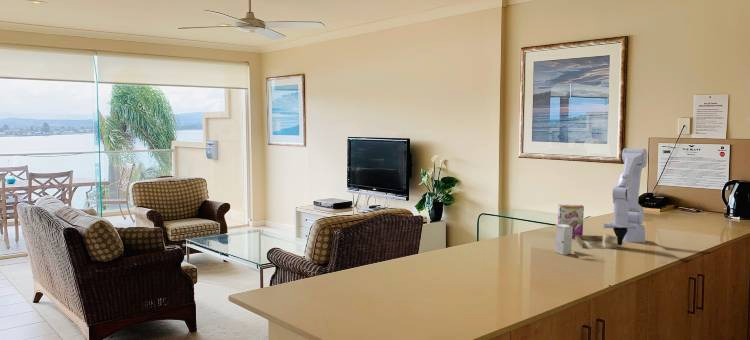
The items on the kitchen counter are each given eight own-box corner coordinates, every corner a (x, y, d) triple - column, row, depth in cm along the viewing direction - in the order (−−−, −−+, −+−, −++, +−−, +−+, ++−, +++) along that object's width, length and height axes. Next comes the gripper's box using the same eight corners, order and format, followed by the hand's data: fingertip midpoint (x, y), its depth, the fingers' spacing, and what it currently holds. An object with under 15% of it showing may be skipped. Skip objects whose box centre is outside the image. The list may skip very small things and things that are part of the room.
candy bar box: (559, 239, 283) (560, 205, 281) (556, 237, 288) (557, 203, 286) (583, 239, 282) (584, 205, 280) (580, 237, 287) (581, 204, 285)
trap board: (615, 243, 274) (615, 236, 273) (626, 252, 254) (626, 245, 254) (574, 241, 277) (575, 235, 276) (582, 250, 257) (582, 243, 257)
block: (614, 245, 262) (614, 234, 261) (617, 248, 257) (617, 236, 256) (602, 245, 263) (602, 234, 262) (605, 247, 258) (605, 236, 257)
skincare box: (554, 252, 254) (555, 224, 253) (563, 251, 255) (564, 224, 254) (563, 255, 248) (564, 226, 247) (572, 254, 249) (573, 226, 248)
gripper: (605, 215, 255) (604, 246, 256) (640, 216, 253) (639, 247, 254) (601, 212, 262) (600, 242, 263) (636, 213, 260) (635, 244, 261)
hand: (619, 244), depth 259 cm, fingers closed
